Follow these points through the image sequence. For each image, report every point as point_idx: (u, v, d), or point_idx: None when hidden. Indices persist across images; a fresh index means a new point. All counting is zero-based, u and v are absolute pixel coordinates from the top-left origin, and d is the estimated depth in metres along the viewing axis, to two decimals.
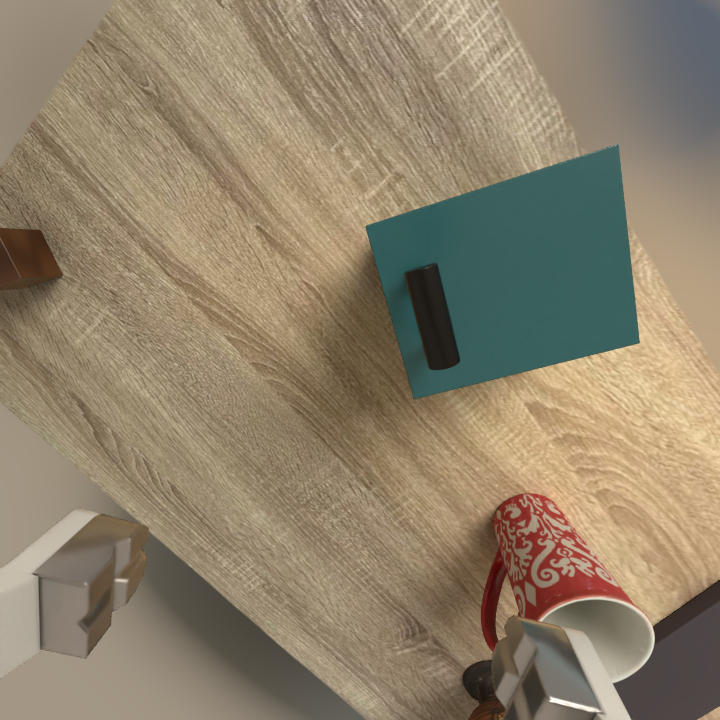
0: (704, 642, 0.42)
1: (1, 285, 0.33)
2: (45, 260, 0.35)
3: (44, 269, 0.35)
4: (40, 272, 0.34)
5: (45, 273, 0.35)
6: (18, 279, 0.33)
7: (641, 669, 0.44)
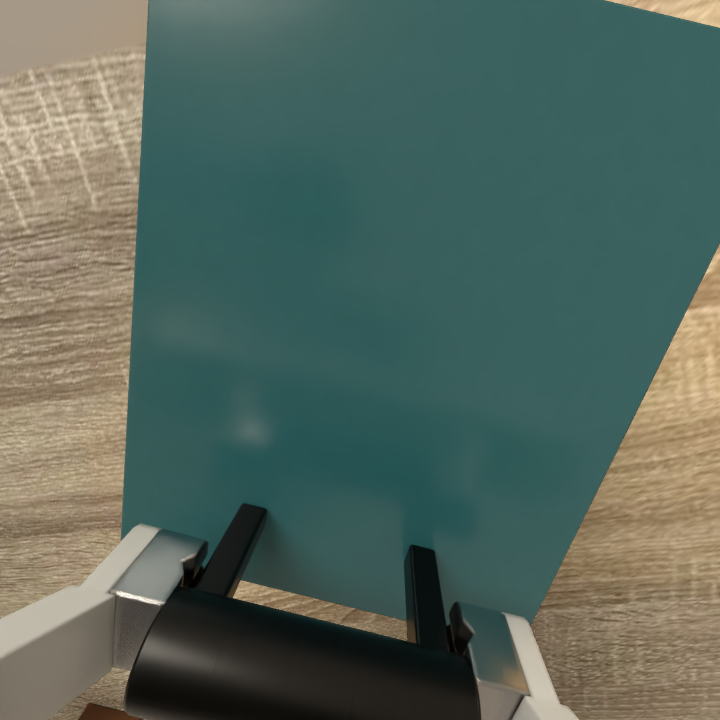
0: None
1: None
2: None
3: None
4: None
5: None
6: None
7: None
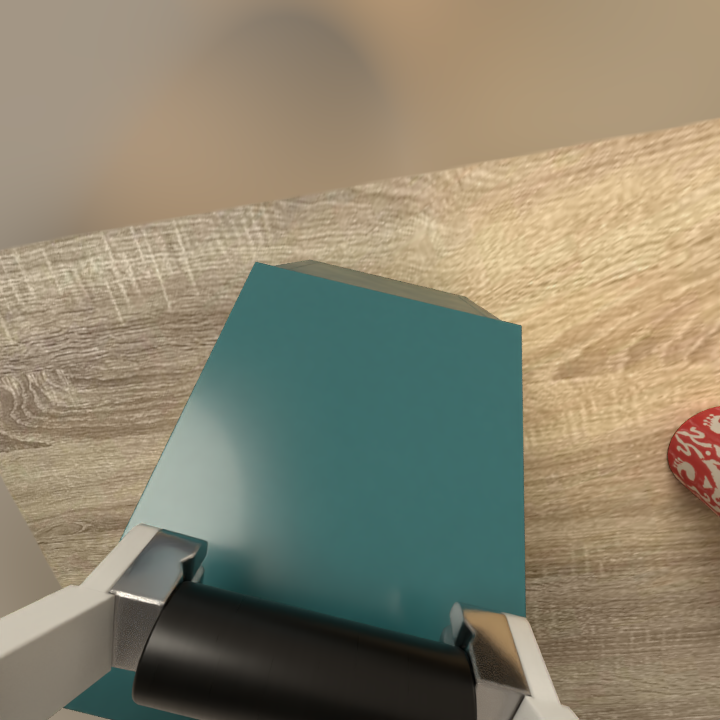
0: None
1: None
2: None
3: None
4: None
5: None
6: None
7: None
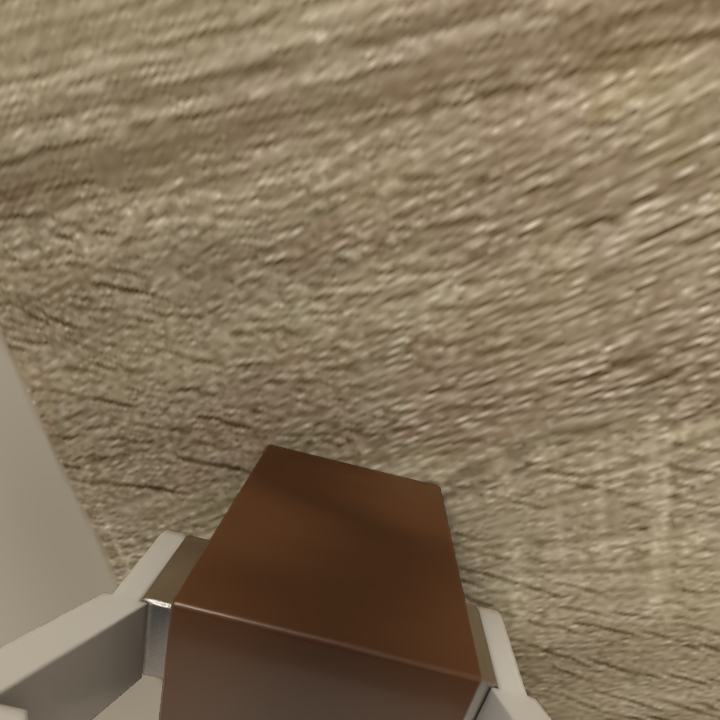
0: None
1: None
2: (381, 500, 0.08)
3: (420, 528, 0.08)
4: (435, 552, 0.07)
5: (440, 537, 0.07)
6: None
7: None
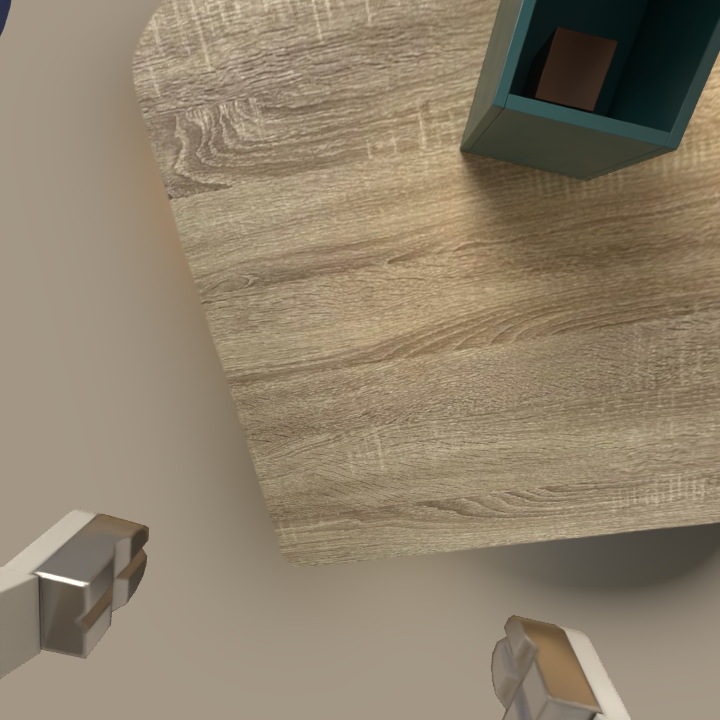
0: None
1: (604, 78, 0.27)
2: None
3: None
4: None
5: None
6: (615, 48, 0.26)
7: None
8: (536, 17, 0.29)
